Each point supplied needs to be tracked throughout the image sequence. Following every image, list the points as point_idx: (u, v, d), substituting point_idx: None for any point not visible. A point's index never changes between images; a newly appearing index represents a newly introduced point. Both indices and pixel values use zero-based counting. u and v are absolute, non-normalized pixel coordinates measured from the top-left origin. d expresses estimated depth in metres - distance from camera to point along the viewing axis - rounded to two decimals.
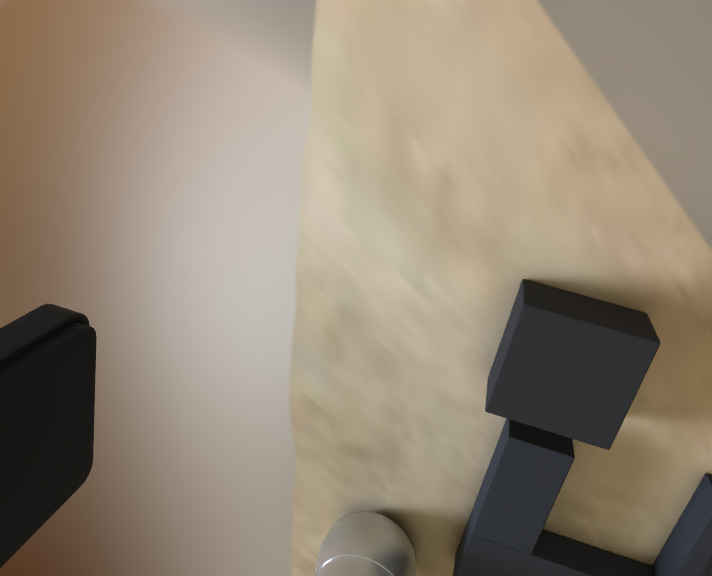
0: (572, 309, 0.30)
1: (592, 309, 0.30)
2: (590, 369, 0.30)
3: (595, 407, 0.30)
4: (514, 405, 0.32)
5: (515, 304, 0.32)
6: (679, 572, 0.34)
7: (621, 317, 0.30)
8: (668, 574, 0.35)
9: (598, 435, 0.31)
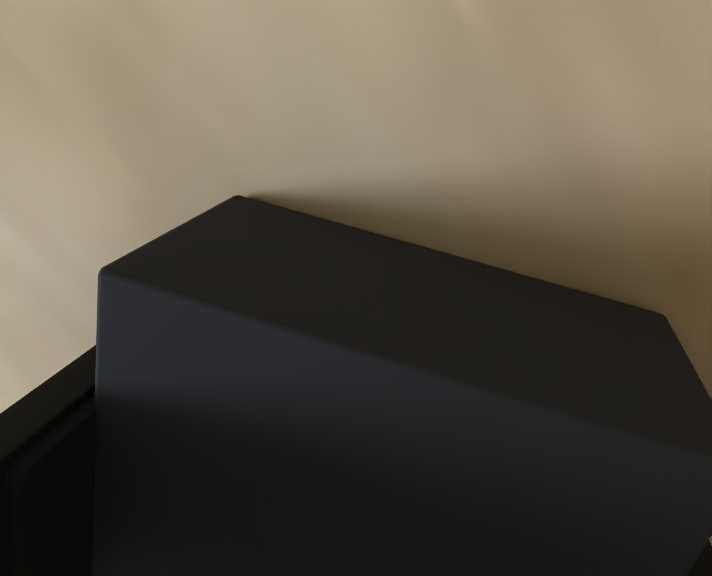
0: (342, 297, 0.07)
1: (442, 300, 0.07)
2: (421, 564, 0.07)
3: None
4: None
5: None
6: None
7: (562, 331, 0.07)
8: None
9: None
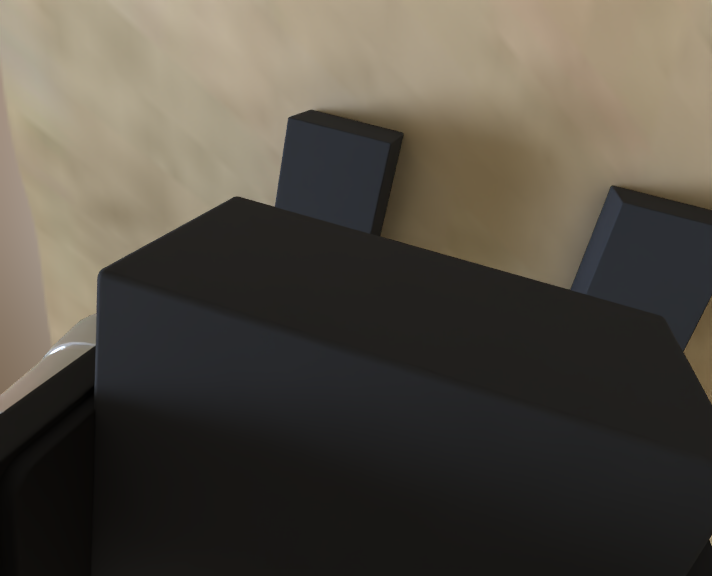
0: (342, 300, 0.07)
1: (441, 301, 0.07)
2: (420, 565, 0.07)
3: None
4: None
5: None
6: None
7: (561, 332, 0.07)
8: None
9: None
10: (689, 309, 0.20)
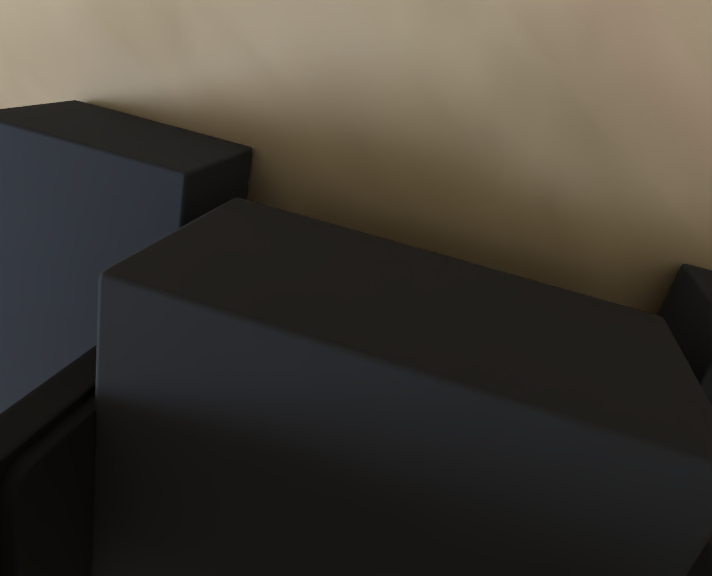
0: (341, 301, 0.07)
1: (441, 302, 0.07)
2: (421, 565, 0.07)
3: None
4: None
5: None
6: None
7: (561, 333, 0.07)
8: None
9: None
10: None
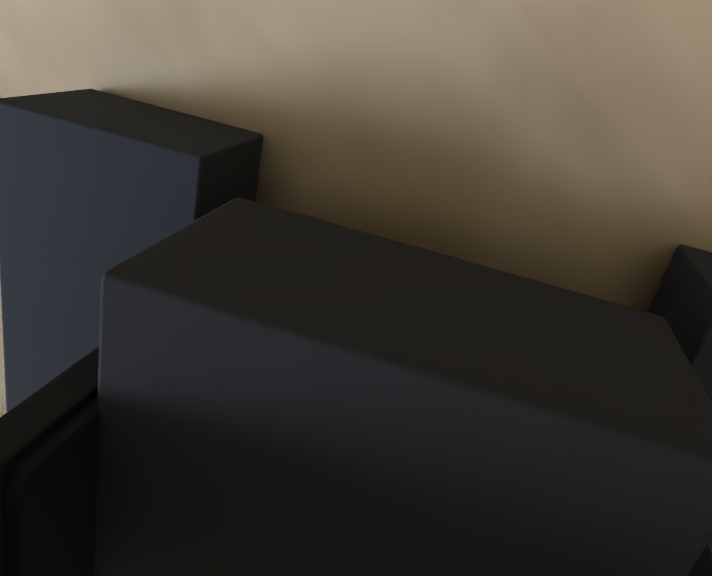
0: (344, 301, 0.07)
1: (442, 302, 0.07)
2: (423, 565, 0.07)
3: None
4: None
5: None
6: None
7: (562, 332, 0.07)
8: None
9: None
10: None
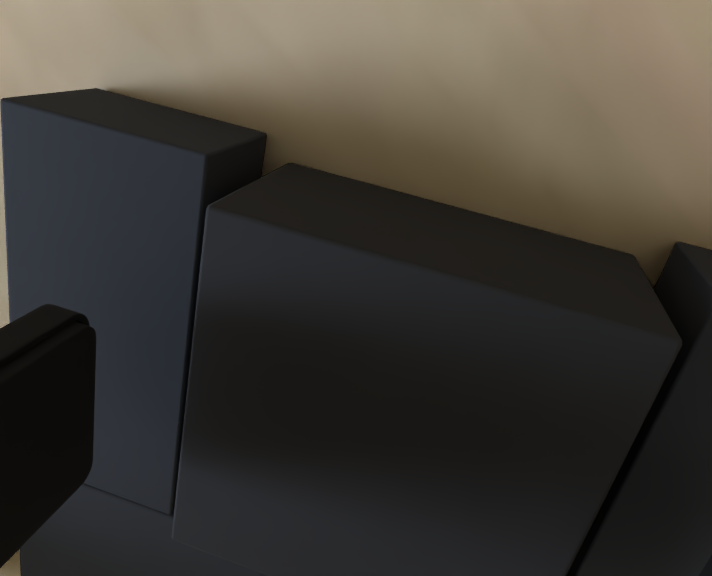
0: (385, 231, 0.09)
1: (459, 237, 0.10)
2: (445, 430, 0.09)
3: (469, 549, 0.10)
4: (241, 528, 0.11)
5: None
6: (587, 566, 0.10)
7: (552, 259, 0.09)
8: None
9: None
10: None
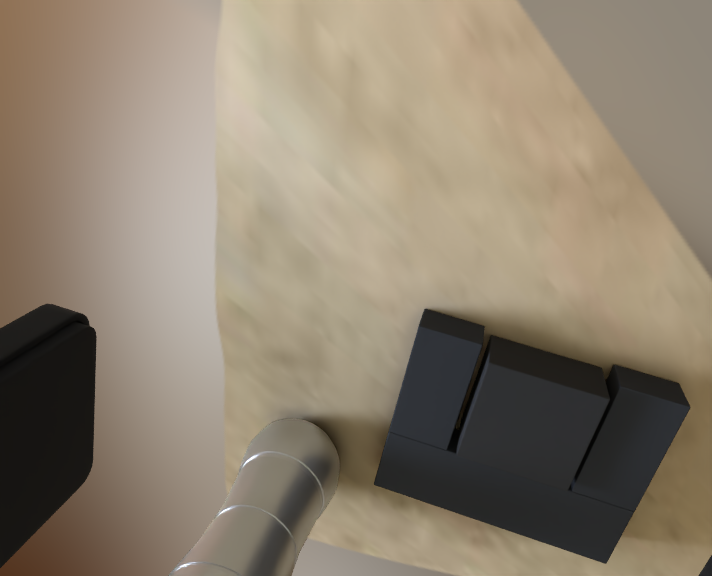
0: (532, 366, 0.33)
1: (551, 366, 0.34)
2: (549, 420, 0.33)
3: (553, 454, 0.34)
4: (482, 450, 0.35)
5: (484, 358, 0.36)
6: (587, 461, 0.35)
7: (577, 373, 0.34)
8: (579, 466, 0.36)
9: (557, 478, 0.34)
10: (660, 446, 0.33)
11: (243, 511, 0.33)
